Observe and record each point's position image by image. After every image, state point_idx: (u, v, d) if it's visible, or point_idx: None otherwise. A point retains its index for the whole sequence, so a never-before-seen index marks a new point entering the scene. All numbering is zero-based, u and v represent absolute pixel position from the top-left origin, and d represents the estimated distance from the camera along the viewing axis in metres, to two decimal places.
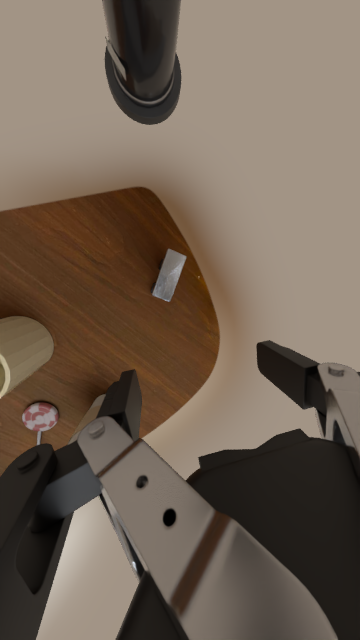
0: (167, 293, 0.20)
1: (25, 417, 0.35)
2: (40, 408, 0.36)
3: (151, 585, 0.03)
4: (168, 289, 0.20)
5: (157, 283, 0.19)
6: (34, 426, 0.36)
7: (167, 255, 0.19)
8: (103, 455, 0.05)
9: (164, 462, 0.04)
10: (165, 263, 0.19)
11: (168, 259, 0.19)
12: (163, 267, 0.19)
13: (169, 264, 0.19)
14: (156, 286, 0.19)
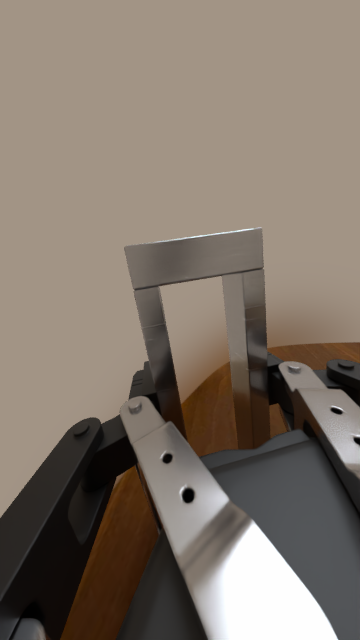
0: None
1: None
2: None
3: (168, 546, 0.03)
4: None
5: (226, 232, 0.07)
6: None
7: None
8: (138, 429, 0.06)
9: (189, 446, 0.04)
10: None
11: None
12: (179, 239, 0.07)
13: None
14: (234, 232, 0.07)
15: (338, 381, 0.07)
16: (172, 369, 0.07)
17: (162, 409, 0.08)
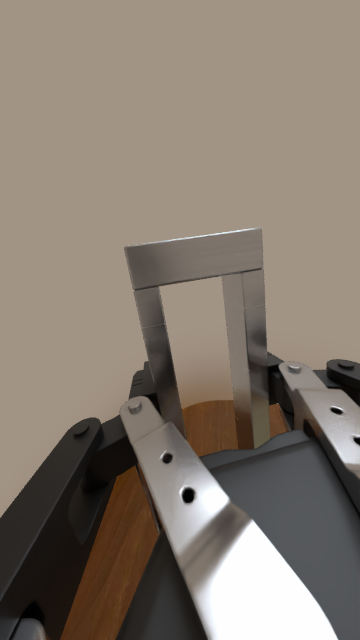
0: None
1: None
2: None
3: (168, 546, 0.03)
4: None
5: None
6: None
7: None
8: (138, 429, 0.06)
9: (189, 447, 0.04)
10: None
11: None
12: (178, 239, 0.07)
13: None
14: (234, 232, 0.07)
15: (338, 381, 0.07)
16: (172, 369, 0.07)
17: (162, 409, 0.08)
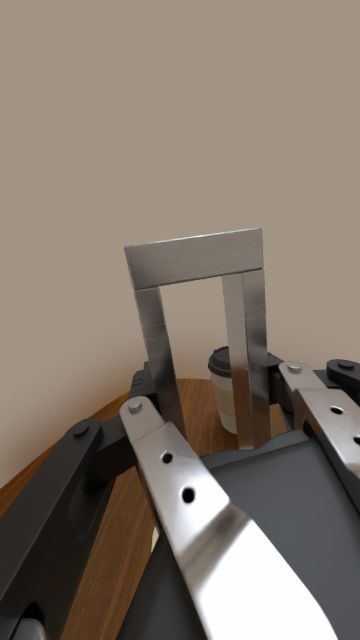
0: None
1: None
2: None
3: (168, 546, 0.03)
4: None
5: (225, 232, 0.07)
6: None
7: None
8: (138, 429, 0.06)
9: (189, 447, 0.04)
10: None
11: None
12: (179, 239, 0.07)
13: None
14: (234, 231, 0.07)
15: (338, 381, 0.07)
16: (172, 369, 0.07)
17: (162, 409, 0.08)
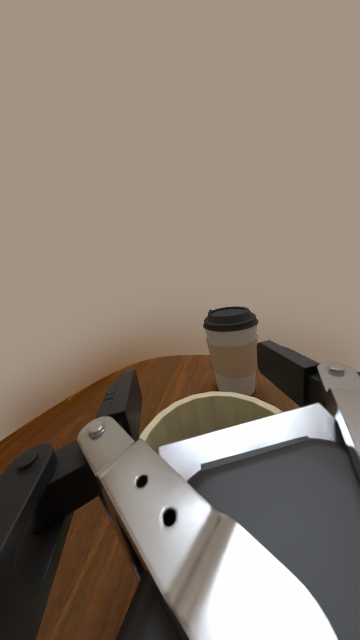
0: (313, 426, 0.05)
1: None
2: None
3: (151, 585, 0.03)
4: (300, 432, 0.05)
5: None
6: None
7: None
8: (103, 455, 0.05)
9: (164, 462, 0.04)
10: None
11: None
12: None
13: None
14: None
15: None
16: None
17: None
